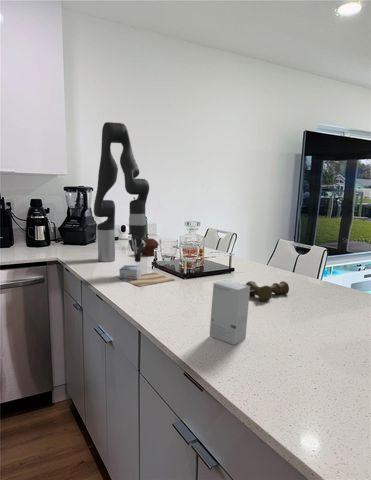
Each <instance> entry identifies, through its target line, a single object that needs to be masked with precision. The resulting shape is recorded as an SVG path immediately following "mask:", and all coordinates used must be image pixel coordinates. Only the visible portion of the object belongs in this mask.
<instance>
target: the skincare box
mask: <svg viewBox="0 0 371 480" xmlns="http://www.w3.org/2000/svg"><path fill="white" fill-rule="evenodd" d="M212 284H213V286H212V288H213V289H212V300H211V308H210V309H211V310H210V311H211V312H210V322H209V323H210V324H209V336H210V337H212V338H214V339H218V340H221V341H223V342H225V343H229V344H230V345H233V346H235V345H237V344H238V343H240V342H242V341H244V340H245V339H246V338H247V337H246V335H247V326H248V324H247V323H248V315H249V301H250V295H249V294H250V286H248V285H246V284H245V283H240V282H238V281H233V280H229V279H222V280H219V281H215V282H213V283H212Z"/></svg>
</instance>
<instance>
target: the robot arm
mask: <svg viewBox="0 0 371 480" xmlns="http://www.w3.org/2000/svg"><path fill="white" fill-rule="evenodd" d="M112 144H121V146H122V152H121V154H120V157H119V165H120V168H121V170H122V173H123V176H124V188H125V191H126V193H128V194H129V195H136V196H137V198H136V199H133V200H131V201H130V202H129V216H128V232H129V233H128V234H129V235H131V237H130V238H131V239H128V244H129V247H130V250H131V252H133V254H134V262H135V263H140V262H141V258H142V257H141V256H142V253H143V252H144V250H145V248H146V246H147V243H145V242H144V239H145V237H144V236H145V235H146V234H147V215H146V204H147V201H148V195H149V193H150V184H149V182H148V180H147V179H145V178H137V177H139V176H140V169H139V166H138V164H137V161H136V159H135V156H134V152H133V149H132V143H131V139H130V135H129V130H128V128H127V126H126V125H125V123H123V122H122V123H121V122H111V121H107V122H105V123H104V124H103V125H102V130H101V148H100V149H101V151H100V152H101V153H100V160H99V161H100V162H99V168H98V174H97V175H98V178H97V186H96V187H97V188H96V193H95V194H96V195H95V198H94V203H93V214H94V216H95V217H97V218H106V219H105V220H104V221H103V222H100V223H98V224H97V225H96V227H97V230H96V231H97V235H96V236H97V261H99V262H102V263H103V262H104V263H105V262H106V263H108V262H109V263H110V262H114V261H115V260H116V249H115V247H116V246H115V245H116V243H115V241H116V240H115V238H116V237H115V236H116V235H115V234H116V233H115V231H116V230H115V228H116V227H115V224H116V219H115V218H116V203H115V201H114V200H112V199H105V196H106V194H107V193H108V192H109V191H110V190H111V189H112V187H114V185H115V183H116V182H117V180H118V179H117V178H118V173H119V172H118V171H119V167H118V164H117V163H116V161H115V159H114V156H113V154H112V150H111V145H112Z"/></svg>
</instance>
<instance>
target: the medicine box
mask: <svg viewBox="0 0 371 480" xmlns="http://www.w3.org/2000/svg"><path fill="white" fill-rule="evenodd" d="M141 275H142V265H129V264H128V265H127V264H125V265H123V266H122V267H120V268H119V279H121V280H123V279H138V278H139V277H140V276H141Z"/></svg>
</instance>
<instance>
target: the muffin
mask: <svg viewBox="0 0 371 480" xmlns="http://www.w3.org/2000/svg"><path fill="white" fill-rule="evenodd" d="M144 242H145V243H147V246H146V248H145V250H144V252H143V253H141V256H143V257H155V256H154V249H155V248H157V250H158V247H159V246H160V244H159V242H158V241H157V240H156V239H154V238H151V237H150V238H144Z"/></svg>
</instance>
